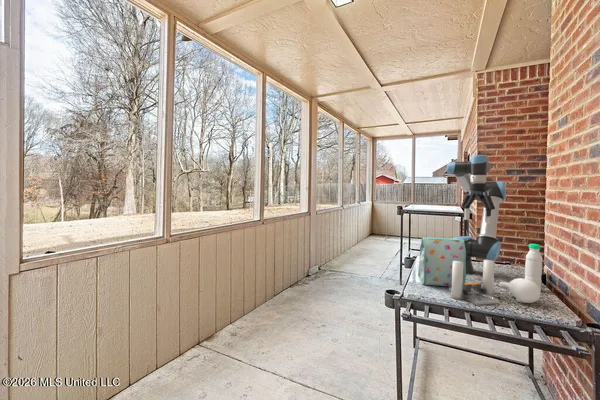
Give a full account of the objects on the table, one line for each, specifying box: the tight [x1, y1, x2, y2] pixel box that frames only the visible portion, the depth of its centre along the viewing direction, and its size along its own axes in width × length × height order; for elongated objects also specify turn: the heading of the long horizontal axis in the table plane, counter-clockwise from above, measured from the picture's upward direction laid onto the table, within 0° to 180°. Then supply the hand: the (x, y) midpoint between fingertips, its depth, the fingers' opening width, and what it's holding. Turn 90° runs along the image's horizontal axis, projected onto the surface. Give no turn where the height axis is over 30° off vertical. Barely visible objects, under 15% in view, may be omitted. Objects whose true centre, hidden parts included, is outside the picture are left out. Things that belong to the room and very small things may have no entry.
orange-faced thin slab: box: [464, 282, 482, 292], centre depth 137 cm, size 1×9×4 cm, turn 101°
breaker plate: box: [448, 287, 500, 306], centre depth 137 cm, size 18×12×4 cm, turn 11°
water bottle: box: [524, 243, 543, 292], centre depth 149 cm, size 7×7×25 cm
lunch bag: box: [417, 236, 467, 288], centre depth 156 cm, size 23×16×27 cm
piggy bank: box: [499, 277, 542, 304], centre depth 133 cm, size 12×12×15 cm
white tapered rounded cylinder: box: [449, 261, 464, 301], centre depth 135 cm, size 5×5×18 cm
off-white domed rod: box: [481, 259, 495, 298], centre depth 138 cm, size 5×5×18 cm
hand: (476, 221), depth 152 cm, fingers open, 13 cm apart
